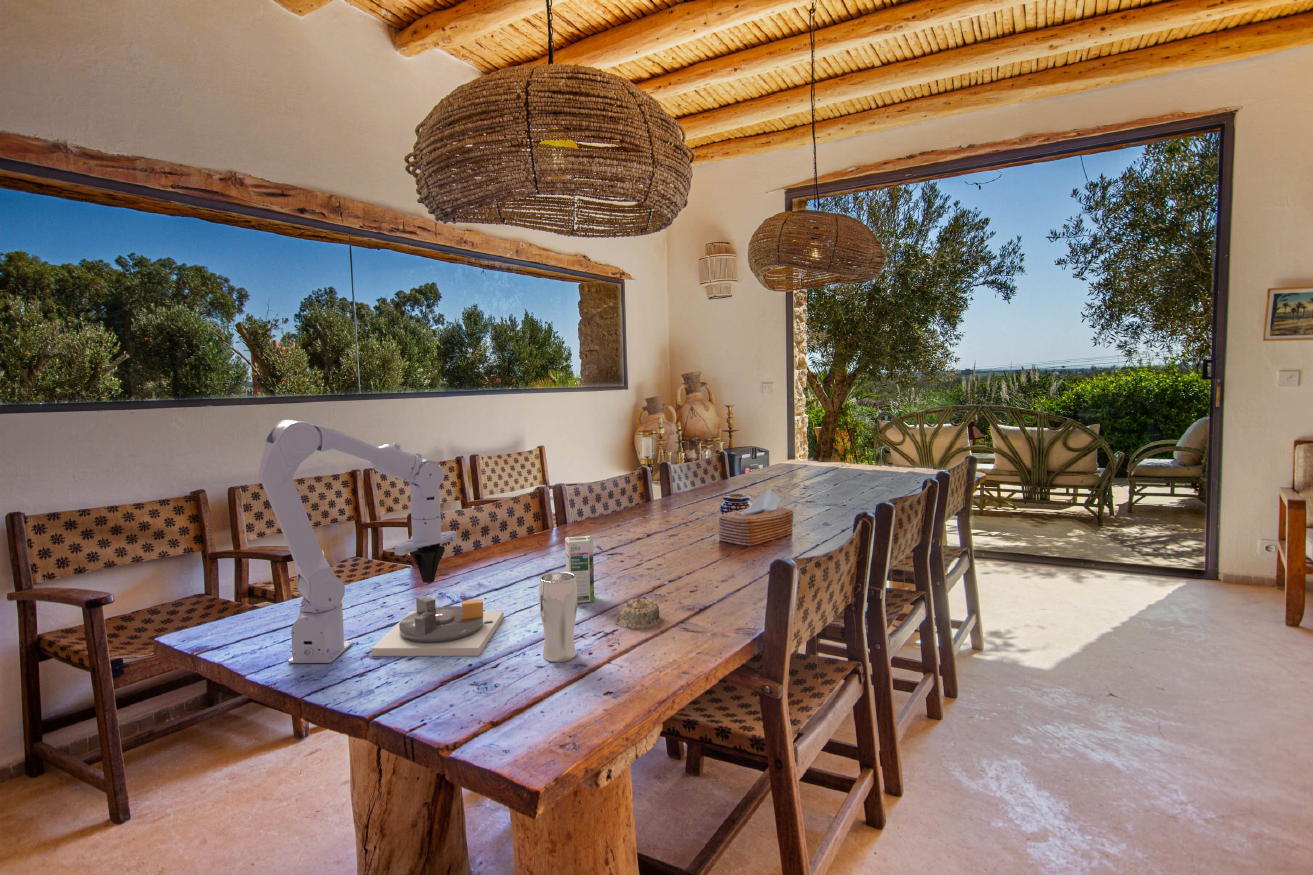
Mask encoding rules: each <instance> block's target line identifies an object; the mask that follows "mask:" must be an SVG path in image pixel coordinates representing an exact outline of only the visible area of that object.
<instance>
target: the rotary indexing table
mask: <svg viewBox="0 0 1313 875" xmlns="http://www.w3.org/2000/svg"><path fill="white" fill-rule="evenodd" d="M415 600H416V601H415V602H416V605H415V606H416V611H417V612H415V613H413V614H411V615H408V616H407V617H405V616H404V617H405V618H404V617H403V618H404V619H403V618H402V619H401V620H400V621H401V622H400V621H399V622H400V624H399V630H400V636H401V637H402V638H404V639H406V640H409V641H413V642H420V643H438V642H447V641H452V640H457V639H461V638H464V637H467V636H470V635H472V634H474V633H476V632H477V631H479V630H480V629H481V628H482V626H483V611H484V601H483V599H482V598H481V599H472V600H471V599H470V600H462V601H461V606H459V605H455V606H454V605H451V606H450V605H449V606H448V605H446V606H438V607H437V606H436V599H435V598H432V597H430V596H427V595H421V596H418V597H416V598H415Z"/></svg>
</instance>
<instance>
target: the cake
mask: <svg viewBox="0 0 1313 875" xmlns="http://www.w3.org/2000/svg"><path fill="white" fill-rule="evenodd" d="M660 621H661V622H662V620H661V617H660V607H659V606H658V604H657V603H655V602H653V601H650V600H648V599H647V600H645V599H641V598H638V597H637V598H636V599H629V600H628V601H626V607H624V608H622V609H621V610H620V613H619V614H617V615H616V616H615V618H614V623H615V624H616V625H617V626H619V627H621V628H624V629H646V627H647V628H648V627H649V628H651V626H653V627H655V626H656V625H659V623H661V622H660ZM654 625H655V626H654Z"/></svg>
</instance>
